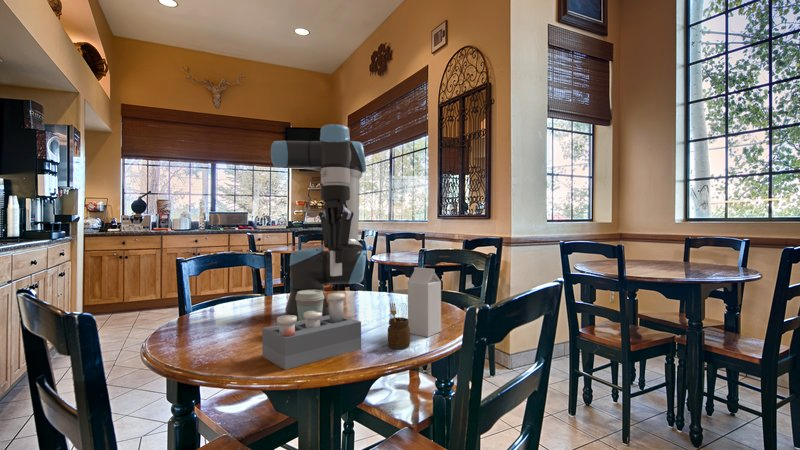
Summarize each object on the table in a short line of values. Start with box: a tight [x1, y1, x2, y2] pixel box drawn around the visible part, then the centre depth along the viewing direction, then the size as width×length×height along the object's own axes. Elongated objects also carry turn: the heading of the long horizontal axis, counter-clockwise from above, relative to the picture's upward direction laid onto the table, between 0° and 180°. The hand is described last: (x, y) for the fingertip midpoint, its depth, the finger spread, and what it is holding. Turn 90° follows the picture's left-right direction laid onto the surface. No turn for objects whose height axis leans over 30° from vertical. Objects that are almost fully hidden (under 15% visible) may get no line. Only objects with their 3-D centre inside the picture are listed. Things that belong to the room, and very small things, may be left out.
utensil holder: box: [387, 302, 411, 350], centre depth 105 cm, size 6×6×12 cm
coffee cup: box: [295, 290, 325, 321], centre depth 119 cm, size 8×9×12 cm
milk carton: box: [407, 266, 442, 338], centre depth 118 cm, size 7×7×19 cm
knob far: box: [326, 292, 346, 323], centre depth 105 cm, size 5×5×7 cm
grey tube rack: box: [261, 314, 362, 371], centre depth 100 cm, size 12×21×8 cm, turn 133°
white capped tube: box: [276, 315, 298, 334], centre depth 96 cm, size 5×5×7 cm
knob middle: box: [303, 311, 322, 329], centre depth 100 cm, size 5×5×7 cm
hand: (336, 275), depth 105 cm, fingers closed
